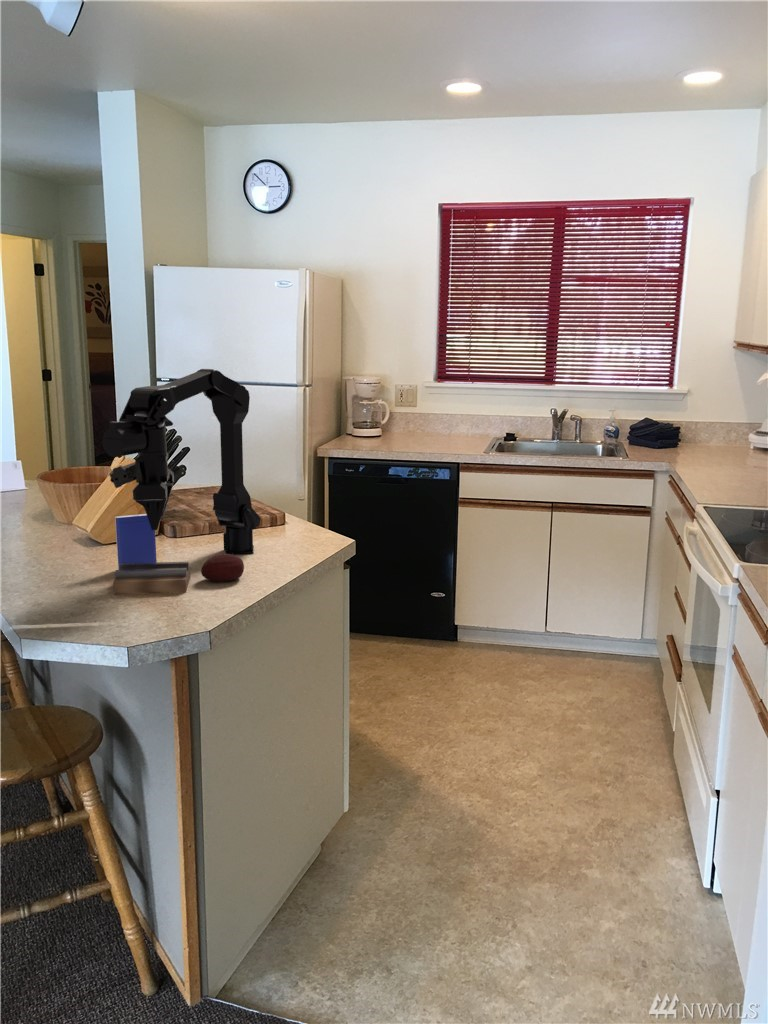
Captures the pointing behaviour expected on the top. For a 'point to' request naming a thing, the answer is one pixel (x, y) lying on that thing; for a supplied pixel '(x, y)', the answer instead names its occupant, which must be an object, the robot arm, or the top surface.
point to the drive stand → (152, 578)
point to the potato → (223, 568)
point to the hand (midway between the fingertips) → (157, 524)
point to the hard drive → (135, 539)
